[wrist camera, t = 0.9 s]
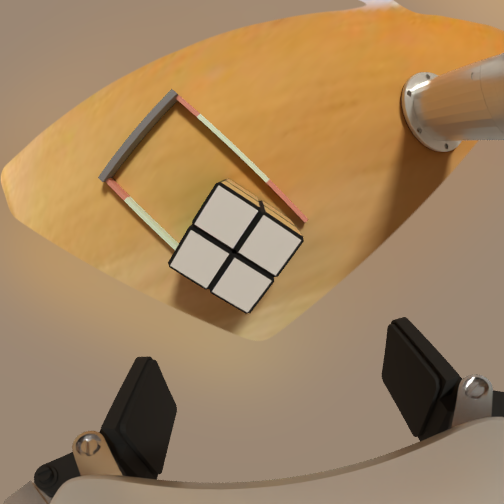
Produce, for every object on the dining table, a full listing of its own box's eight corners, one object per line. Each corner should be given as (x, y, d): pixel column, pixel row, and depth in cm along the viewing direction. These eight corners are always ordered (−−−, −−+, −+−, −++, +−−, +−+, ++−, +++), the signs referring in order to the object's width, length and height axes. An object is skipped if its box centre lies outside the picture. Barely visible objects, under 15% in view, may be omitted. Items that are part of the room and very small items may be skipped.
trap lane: (175, 92, 31) (171, 88, 29) (306, 217, 36) (309, 220, 34) (105, 176, 34) (98, 177, 32) (226, 293, 39) (225, 299, 37)
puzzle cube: (249, 280, 38) (248, 316, 29) (186, 241, 37) (165, 266, 27) (292, 220, 36) (306, 239, 26) (226, 177, 34) (217, 180, 25)
